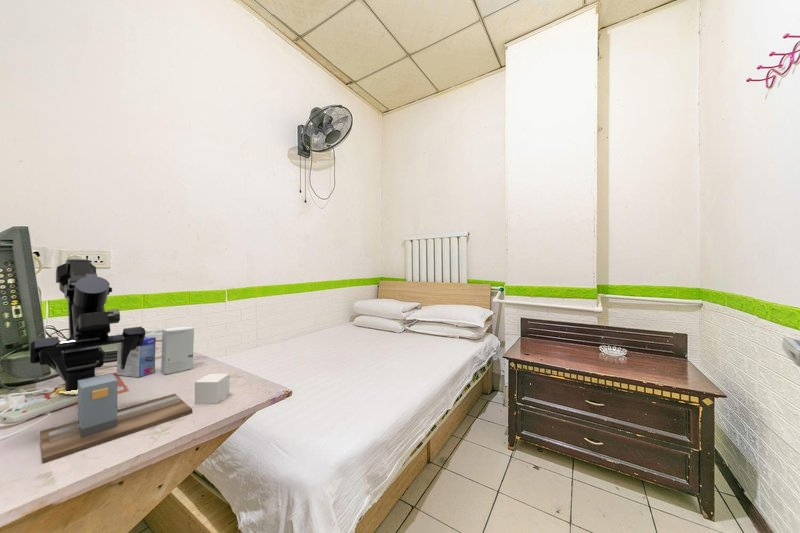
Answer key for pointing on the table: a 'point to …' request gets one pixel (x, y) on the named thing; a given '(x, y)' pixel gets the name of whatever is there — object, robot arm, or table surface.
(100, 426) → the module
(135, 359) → the ink cartridge box
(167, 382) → the table surface
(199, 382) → the white cube
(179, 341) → the skincare box
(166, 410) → the rail board
